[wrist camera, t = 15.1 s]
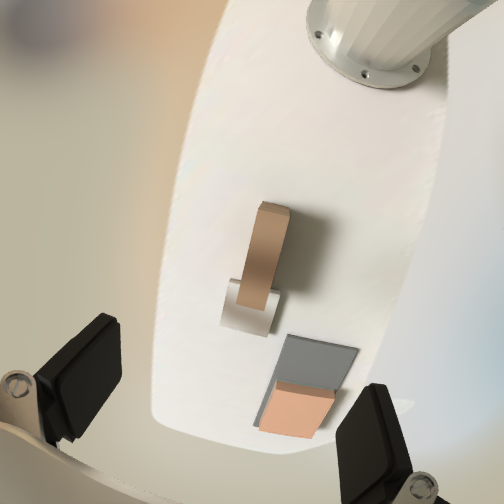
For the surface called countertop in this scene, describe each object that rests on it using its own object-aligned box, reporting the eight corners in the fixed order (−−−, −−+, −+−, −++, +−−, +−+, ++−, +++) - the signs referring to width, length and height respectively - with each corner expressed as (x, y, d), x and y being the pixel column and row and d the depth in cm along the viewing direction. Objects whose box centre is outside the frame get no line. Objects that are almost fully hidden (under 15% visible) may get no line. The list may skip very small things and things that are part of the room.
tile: (275, 389, 29) (258, 430, 32) (335, 399, 29) (311, 438, 31) (276, 379, 31) (259, 420, 33) (333, 389, 31) (310, 428, 33)
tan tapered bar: (249, 197, 26) (240, 204, 21) (302, 211, 26) (307, 221, 21) (221, 320, 30) (210, 347, 25) (267, 332, 30) (264, 361, 25)
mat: (287, 334, 30) (287, 336, 29) (356, 348, 29) (357, 350, 29) (253, 423, 34) (253, 426, 34) (309, 432, 34) (310, 435, 33)
